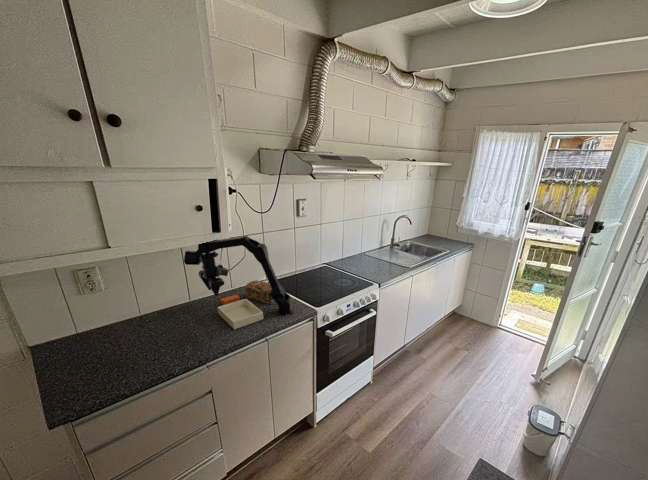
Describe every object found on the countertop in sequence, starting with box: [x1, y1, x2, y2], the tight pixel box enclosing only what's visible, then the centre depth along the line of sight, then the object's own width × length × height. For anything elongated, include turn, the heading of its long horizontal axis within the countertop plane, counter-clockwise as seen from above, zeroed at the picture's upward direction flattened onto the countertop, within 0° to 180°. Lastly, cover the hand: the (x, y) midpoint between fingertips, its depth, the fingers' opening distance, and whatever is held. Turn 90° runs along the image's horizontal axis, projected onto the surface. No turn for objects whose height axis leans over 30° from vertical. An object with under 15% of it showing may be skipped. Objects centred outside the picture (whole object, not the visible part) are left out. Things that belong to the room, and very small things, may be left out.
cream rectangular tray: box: [217, 298, 264, 330], centre depth 155 cm, size 20×16×5 cm
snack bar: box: [220, 294, 241, 306], centre depth 168 cm, size 4×9×4 cm, turn 134°
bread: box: [244, 280, 276, 305], centre depth 175 cm, size 19×11×10 cm, turn 68°
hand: (213, 292), depth 154 cm, fingers open, 9 cm apart
